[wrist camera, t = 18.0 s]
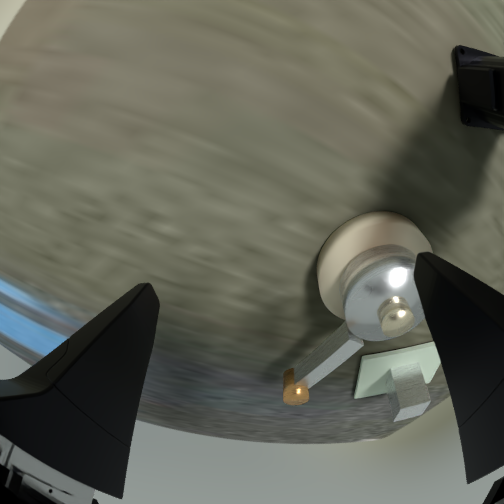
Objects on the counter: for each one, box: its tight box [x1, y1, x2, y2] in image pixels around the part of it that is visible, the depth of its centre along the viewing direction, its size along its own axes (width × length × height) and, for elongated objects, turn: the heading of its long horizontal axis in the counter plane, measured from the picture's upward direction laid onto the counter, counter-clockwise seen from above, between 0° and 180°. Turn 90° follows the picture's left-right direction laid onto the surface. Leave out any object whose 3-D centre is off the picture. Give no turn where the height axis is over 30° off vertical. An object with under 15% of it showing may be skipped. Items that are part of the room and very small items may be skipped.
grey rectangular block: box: [385, 362, 431, 422], centre depth 28 cm, size 4×4×6 cm
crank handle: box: [283, 244, 425, 405], centre depth 21 cm, size 17×7×5 cm, turn 153°
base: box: [317, 211, 433, 320], centre depth 22 cm, size 10×10×2 cm
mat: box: [354, 341, 441, 399], centre depth 31 cm, size 12×10×1 cm
